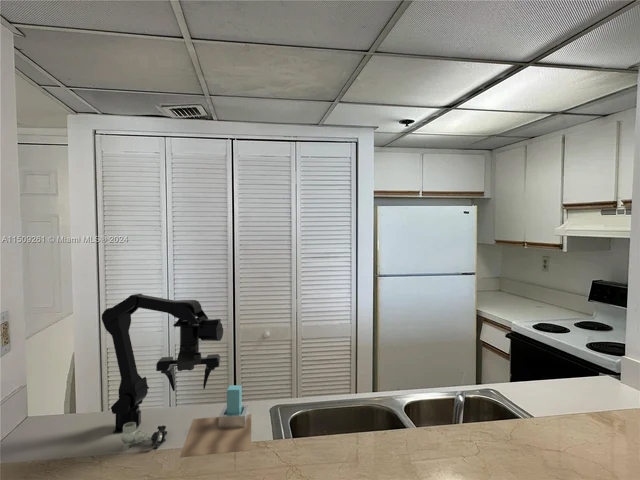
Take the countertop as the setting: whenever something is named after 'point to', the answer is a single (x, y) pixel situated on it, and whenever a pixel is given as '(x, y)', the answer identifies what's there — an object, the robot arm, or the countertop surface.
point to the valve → (141, 436)
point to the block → (234, 400)
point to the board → (216, 438)
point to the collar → (233, 418)
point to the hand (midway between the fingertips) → (189, 389)
